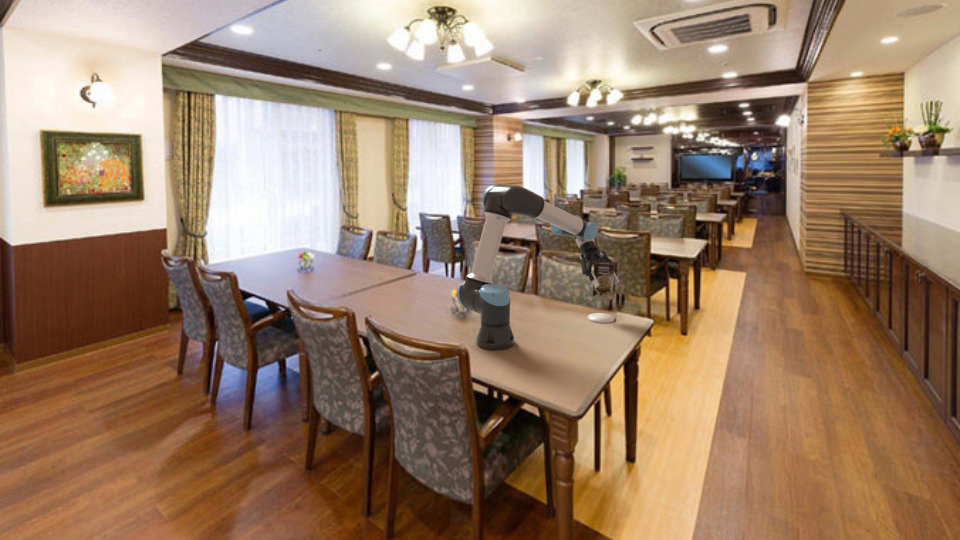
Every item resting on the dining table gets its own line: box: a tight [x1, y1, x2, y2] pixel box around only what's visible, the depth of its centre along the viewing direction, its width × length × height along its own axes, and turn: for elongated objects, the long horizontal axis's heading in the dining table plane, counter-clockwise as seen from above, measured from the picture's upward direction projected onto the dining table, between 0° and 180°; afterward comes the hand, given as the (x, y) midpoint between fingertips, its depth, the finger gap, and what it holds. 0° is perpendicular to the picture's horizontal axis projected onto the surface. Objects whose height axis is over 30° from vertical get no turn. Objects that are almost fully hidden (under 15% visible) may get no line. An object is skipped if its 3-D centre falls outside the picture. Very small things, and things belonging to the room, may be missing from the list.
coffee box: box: [591, 261, 616, 300], centre depth 222 cm, size 9×6×16 cm
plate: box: [587, 312, 615, 324], centre depth 225 cm, size 12×12×1 cm
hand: (607, 284), depth 219 cm, fingers closed on coffee box, 10 cm apart
